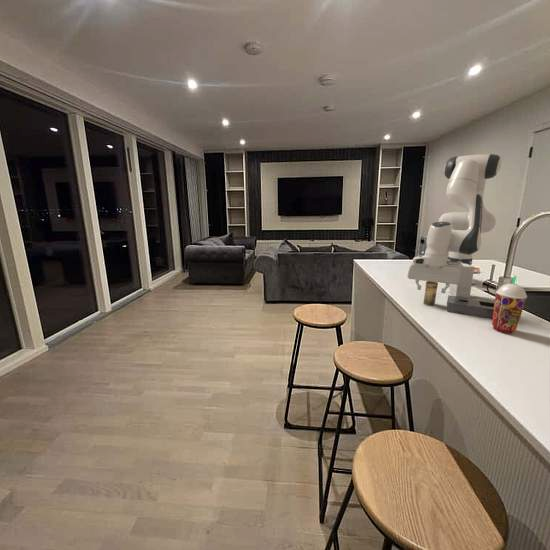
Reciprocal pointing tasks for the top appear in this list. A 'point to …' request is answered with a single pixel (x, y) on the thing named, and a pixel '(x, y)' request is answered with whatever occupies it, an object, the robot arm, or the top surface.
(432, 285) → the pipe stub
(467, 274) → the skincare box
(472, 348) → the top surface
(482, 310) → the manifold block
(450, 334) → the top surface
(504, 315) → the smoothie
